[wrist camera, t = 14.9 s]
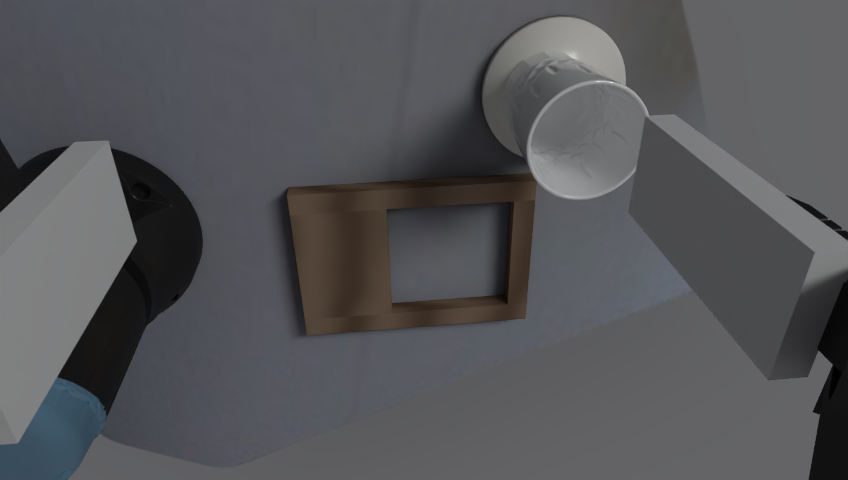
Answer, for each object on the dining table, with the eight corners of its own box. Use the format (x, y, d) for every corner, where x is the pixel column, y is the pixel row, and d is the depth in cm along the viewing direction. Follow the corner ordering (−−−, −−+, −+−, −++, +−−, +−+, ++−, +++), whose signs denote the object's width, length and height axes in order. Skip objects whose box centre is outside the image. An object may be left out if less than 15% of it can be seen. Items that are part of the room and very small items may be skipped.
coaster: (479, 159, 50) (481, 164, 49) (483, 18, 44) (485, 20, 44) (610, 152, 51) (614, 156, 50) (630, 12, 45) (636, 15, 44)
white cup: (512, 159, 49) (547, 218, 41) (479, 69, 45) (509, 113, 37) (606, 119, 48) (662, 171, 40) (580, 24, 44) (636, 58, 36)
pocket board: (308, 325, 57) (307, 335, 55) (288, 187, 50) (286, 195, 48) (521, 308, 58) (525, 318, 57) (532, 173, 51) (536, 180, 50)
